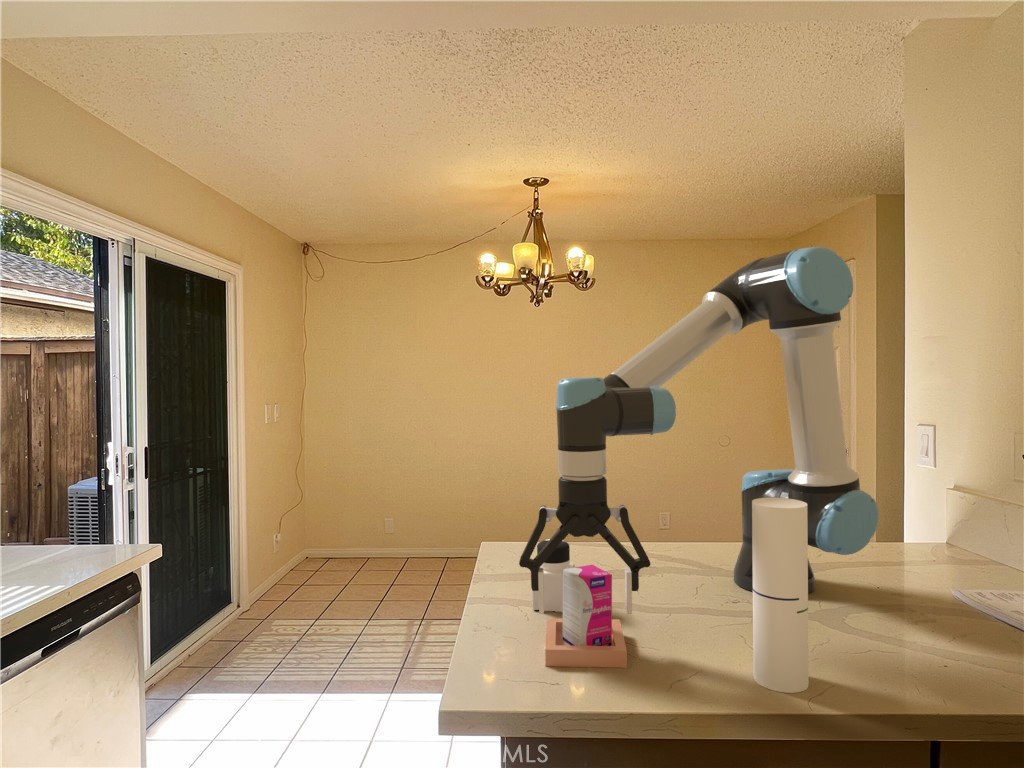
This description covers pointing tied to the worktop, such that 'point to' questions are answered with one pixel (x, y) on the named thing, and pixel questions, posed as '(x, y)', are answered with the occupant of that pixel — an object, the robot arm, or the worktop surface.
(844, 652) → the worktop surface
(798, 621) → the cylindrical container
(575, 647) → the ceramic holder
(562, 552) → the medicine bottle
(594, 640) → the supplement box
